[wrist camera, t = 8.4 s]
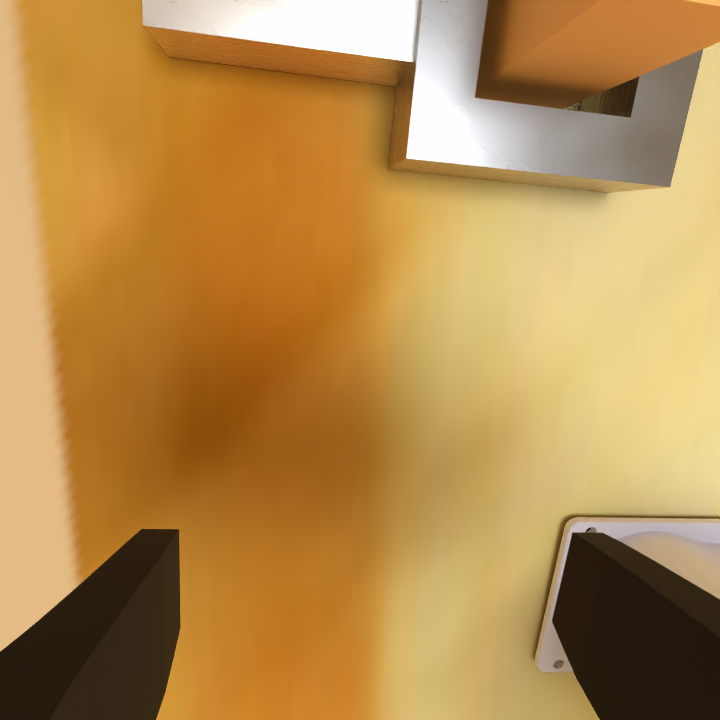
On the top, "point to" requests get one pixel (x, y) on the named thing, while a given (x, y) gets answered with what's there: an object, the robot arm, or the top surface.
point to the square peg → (585, 45)
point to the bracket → (444, 88)
